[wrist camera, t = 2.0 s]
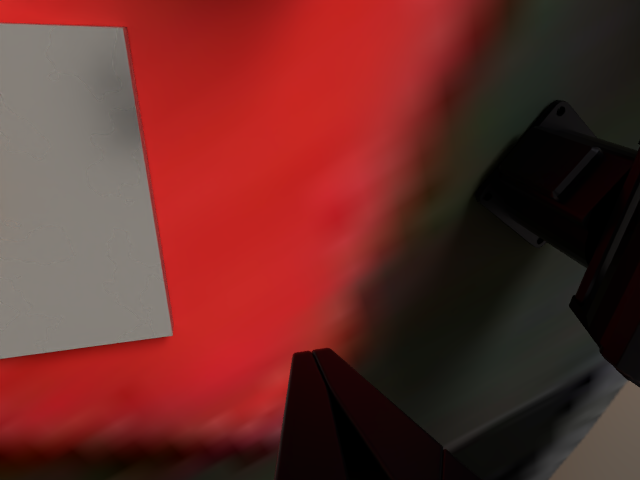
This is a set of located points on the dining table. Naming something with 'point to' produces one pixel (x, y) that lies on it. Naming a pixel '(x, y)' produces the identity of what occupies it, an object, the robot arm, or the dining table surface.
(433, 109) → the dining table surface
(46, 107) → the baseplate
